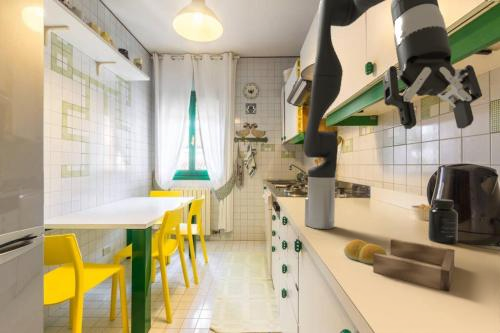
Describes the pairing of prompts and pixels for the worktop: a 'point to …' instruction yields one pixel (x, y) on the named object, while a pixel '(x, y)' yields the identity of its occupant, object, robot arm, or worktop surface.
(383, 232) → the worktop surface
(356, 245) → the bread roll
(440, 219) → the supplement bottle
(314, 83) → the robot arm
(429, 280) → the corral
